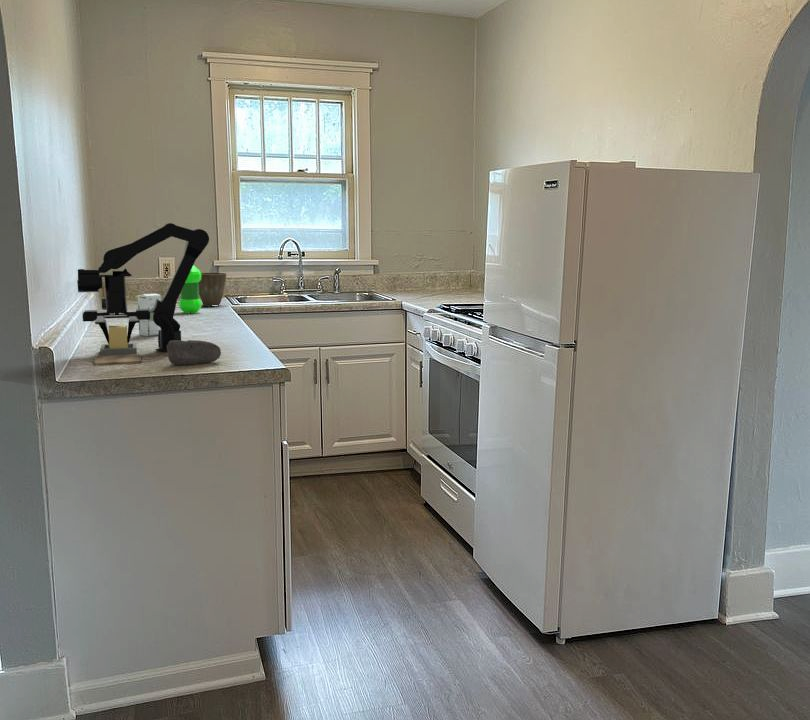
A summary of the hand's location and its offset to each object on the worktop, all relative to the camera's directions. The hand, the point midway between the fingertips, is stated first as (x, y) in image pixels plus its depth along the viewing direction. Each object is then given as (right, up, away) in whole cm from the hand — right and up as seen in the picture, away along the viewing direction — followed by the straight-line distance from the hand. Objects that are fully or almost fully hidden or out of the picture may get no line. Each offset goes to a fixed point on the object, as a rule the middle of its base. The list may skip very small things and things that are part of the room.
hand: (118, 343), depth 222 cm
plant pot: (-8, +21, +138) cm, 140 cm away
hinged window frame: (-2, -2, +5) cm, 6 cm away
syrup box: (-3, +4, +38) cm, 39 cm away
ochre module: (0, -3, 0) cm, 3 cm away
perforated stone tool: (+27, -6, -16) cm, 32 cm away
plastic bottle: (-10, +16, +108) cm, 110 cm away
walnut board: (+5, -5, -12) cm, 14 cm away
